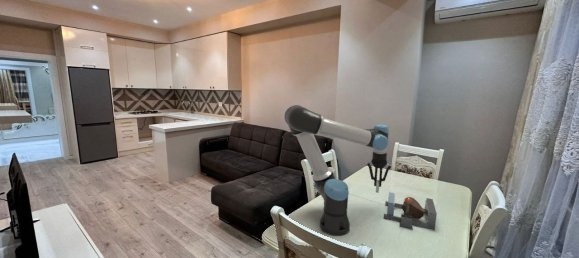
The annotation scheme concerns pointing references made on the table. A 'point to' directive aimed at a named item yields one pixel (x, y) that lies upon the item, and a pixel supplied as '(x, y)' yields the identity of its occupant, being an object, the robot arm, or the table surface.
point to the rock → (413, 209)
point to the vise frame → (408, 222)
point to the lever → (408, 201)
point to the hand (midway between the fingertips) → (377, 191)
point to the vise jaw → (391, 204)
